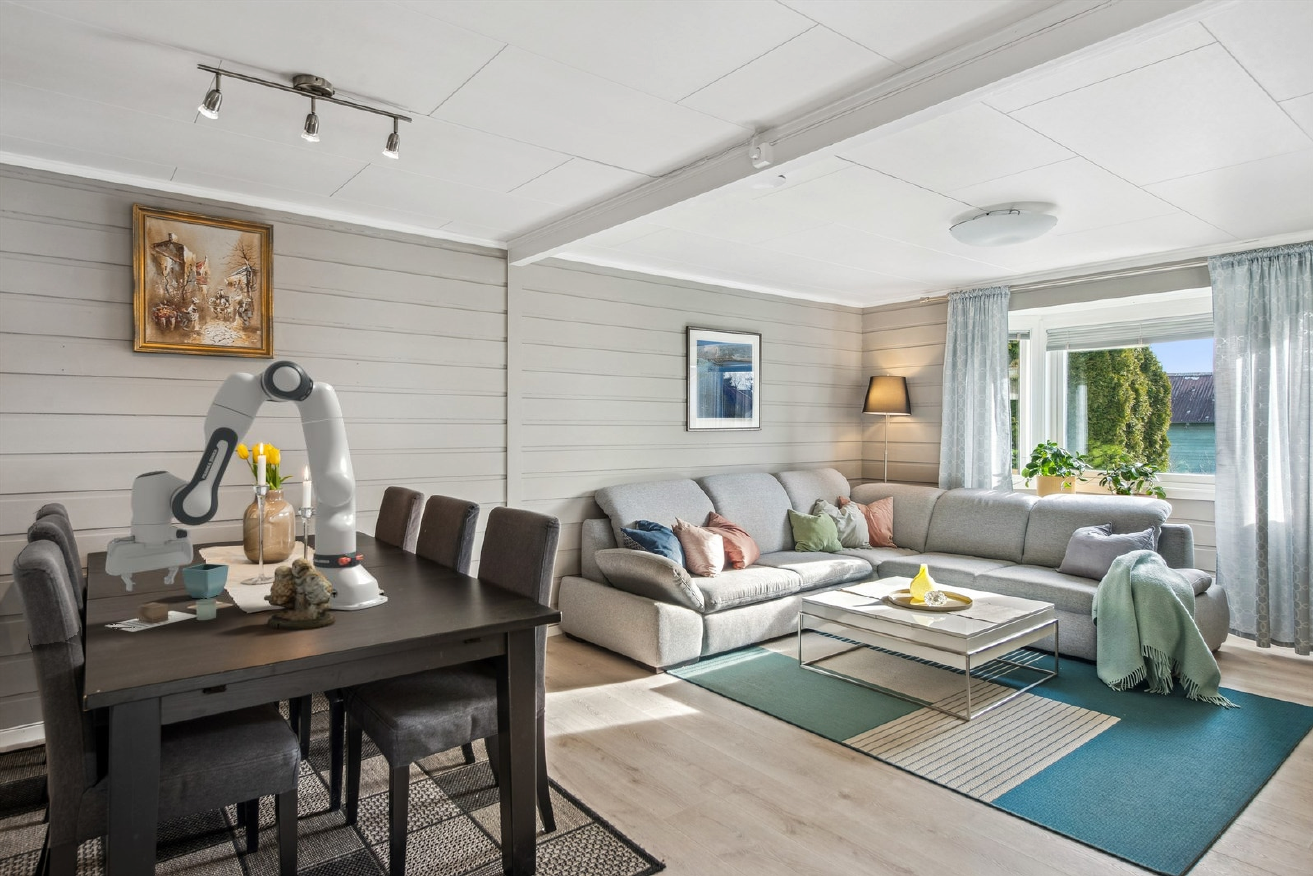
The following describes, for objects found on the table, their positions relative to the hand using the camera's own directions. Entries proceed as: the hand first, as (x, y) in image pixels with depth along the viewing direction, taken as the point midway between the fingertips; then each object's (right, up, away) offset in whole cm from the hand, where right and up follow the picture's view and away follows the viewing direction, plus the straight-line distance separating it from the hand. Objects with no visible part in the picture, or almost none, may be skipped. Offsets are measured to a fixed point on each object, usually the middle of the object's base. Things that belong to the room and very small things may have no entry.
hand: (150, 587), depth 197 cm
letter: (+1, -9, 0) cm, 9 cm away
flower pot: (-3, -9, +28) cm, 30 cm away
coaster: (+7, -9, +15) cm, 19 cm away
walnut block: (+1, -9, 0) cm, 9 cm away
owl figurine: (+39, -10, -1) cm, 40 cm away
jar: (+13, -9, +3) cm, 16 cm away
